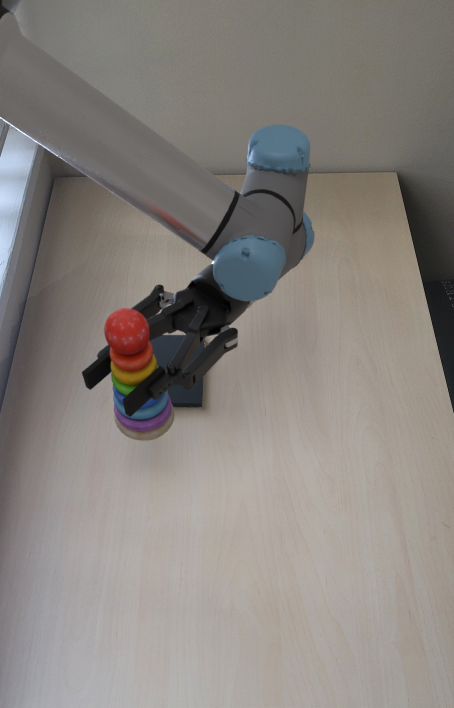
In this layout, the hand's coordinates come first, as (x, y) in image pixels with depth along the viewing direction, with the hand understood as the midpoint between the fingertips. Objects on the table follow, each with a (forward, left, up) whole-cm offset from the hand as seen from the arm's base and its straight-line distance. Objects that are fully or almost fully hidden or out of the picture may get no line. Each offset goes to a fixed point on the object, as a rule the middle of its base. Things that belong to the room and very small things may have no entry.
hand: (106, 394), depth 75 cm
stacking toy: (+3, +4, -10) cm, 11 cm away
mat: (+4, +19, -18) cm, 27 cm away
